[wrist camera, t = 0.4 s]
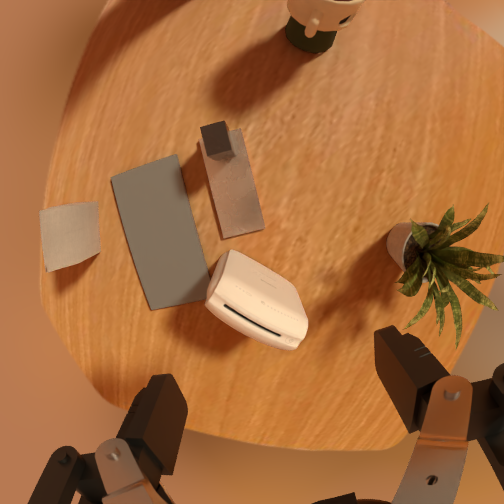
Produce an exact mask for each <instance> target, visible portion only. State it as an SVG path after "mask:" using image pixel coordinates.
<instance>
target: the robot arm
mask: <svg viewBox="0 0 504 504" xmlns="http://www.w3.org/2000/svg"><path fill="white" fill-rule="evenodd" d="M374 348H375V366H376V371H377V374H378V376H379V378H380V380H381V382H382V383H383V385H384V387H385V389H386V391H387V392H388V394H389V396H390V398H391V400H392V402H393V404H394V405H395V407H396V409H397V411H398V413H399V415H400V417H401V419H402V421H403V422H404V424H405V426H406V428H407V430H408V432H409V433H412V432H415V431H417V430H419V431H420V435H419V437H418V440H417V442H416V445H415V448H414V451H413V453H412V456H411V459H410V461H409V464H408V466H407V469H406V471H405V474H404V477H403V479H402V481H401V483H400V486H399V488H398V490H397V492H396V494H395V497H394V499H393V501H392V503H390V502H387V501H382V500H375V499H358V500H356V496H355V493H354V492H353V493H350V494H346V495H342V496H338V497H335V498H330V499H325V500H321V501H318V502H315V503H312V504H453V503H454V500H455V497H456V494H457V490H458V487H459V483H460V480H461V476H462V472H463V468H464V464H465V459H466V455H467V450H468V441H471V440H475V439H477V441H478V442H479V444H480V446H481V448H482V450H483V451H484V453H485V455H486V457H487V459H488V460H489V462H490V464H491V466H492V468H493V470H494V472H495V474H496V476H497V478H498V480H499V482H500V484H501V486H502V488H503V490H504V363H503V364H501V365H499V366H498V367H497V368H496V369H495V371H494V373H493V376H492V378H490V379H486V380H482V381H478V382H473V383H470V382H469V381H468V380H467V379H466V378H464V377H461V376H456V375H450V374H449V373H448V372H447V370H446V369H445V368H444V367H443V366H442V364H441V363H440V362H439V361H438V360H437V359H436V358H435V356H434V355H433V354H432V353H431V352H430V351H429V349H428V348H427V347H425V345H424V344H423V343H422V342H421V340H420V339H419V338H417V337H415V336H413V335H411V334H409V333H407V334H404V335H401V333H400V332H399V331H398V330H397V329H396V327H395V326H393V325H391V326H388V327H385V328H382V329H379V330H376V331H375V332H374ZM131 405H132V406H130V409H129V411H128V414H127V415H126V417H125V419H124V421H123V424H122V426H121V428H120V430H119V432H118V434H117V436H116V438H113V439H109V440H107V441H105V442H103V443H102V444H101V445H100V446H99V447H98V448H97V450H96V452H95V453H89V454H82V455H80V454H79V453H78V452H77V450H76V449H75V448H73V447H71V446H63V447H61V448H58V449H57V450H56V451H55V452H54V453H53V454H52V455H51V457H50V459H49V461H48V463H47V465H46V467H45V469H44V471H43V473H42V475H41V477H40V479H39V481H38V483H37V485H36V487H35V489H34V491H33V493H32V496H31V498H30V500H29V502H28V504H71V501H72V499H73V496H74V493H75V491H77V492H79V493H80V494H81V498H80V501H79V503H78V504H175V503H174V501H173V499H172V498H171V496H170V495H169V493H168V492H167V490H166V489H165V487H164V485H163V484H162V483H161V482H160V478H161V475H173V471H174V466H175V463H176V459H177V454H178V450H179V446H180V442H181V438H182V434H183V430H184V426H185V422H186V418H187V414H188V408H187V403H186V400H185V398H184V396H183V394H182V392H181V391H180V389H179V387H178V385H177V383H176V381H175V379H174V377H173V375H172V374H161V375H153V376H152V377H151V379H150V381H149V383H148V385H147V387H146V388H143V389H142V390H141V391H140V392H139V393H138V394H137V395H136V396H135V398H134V400H133V402H132V404H131Z"/></svg>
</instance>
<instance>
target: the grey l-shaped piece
mask: <svg viewBox="0 0 504 504" xmlns="http://www.w3.org/2000/svg"><path fill="white" fill-rule="evenodd" d="M200 129H201V133H202V137H203V138H202V139H199V143H200V147H201V151H202V155H203V159H204V163H205V167H206V171H207V175H208V179H209V183H210V187H211V191H212V195H213V199H214V203H215V207H216V211H217V214H218V218H219V222H220V226H221V230H222V234H223V237H224V238H227V237H231V236H235V235H240V234H244V233H248V232H252V231H256V230H261V229H265V224H264V220H263V216H262V212H261V208H260V203H259V199H258V195H257V191H256V187H255V183H254V179H253V175H252V171H251V167H250V162H249V158H248V154H247V150H246V146H245V142H244V138H243V135H242V131H241V128H240V129H236V130H232V131H230V130H229V128H228V126H227V124H226V122H225V121H221V122H217V123H213V124H210V125H206V126H203V127H200Z"/></svg>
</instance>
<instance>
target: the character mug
mask: <svg viewBox="0 0 504 504" xmlns="http://www.w3.org/2000/svg"><path fill="white" fill-rule="evenodd" d="M364 1H365V0H288V2H287V7H288V9H289V12H290V14H291V16H290V19H289V21H288V23H287V26H286V28H285V31H286V36H287V38H288V39H289V40H290V42H291V43H292V44H293V45H295V46H296V47H298V48H300V49H302V50H304V51H308V52H311V53H319V52H325V51H326V50H327V49H329V48H330V47H332V44H333V41H334V39H335V36H336V33H337V31H339V30H341V29H343V28H345V27H347V26H348V25H349V24H350V23H351V21H352V19H353V18H354V17H355V15H356V14H357V12H358V10H359V9H360V7H361V6H362V4H363V3H364Z"/></svg>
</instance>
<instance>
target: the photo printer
mask: <svg viewBox="0 0 504 504" xmlns="http://www.w3.org/2000/svg"><path fill="white" fill-rule="evenodd" d="M205 306H206V307H207V309H208V310H209V311H210V312H211V313H213V314H214V315H215V316H216V317H217V318H219V319H220V320H221V321H223V322H224V323H226V324H227V325H229V326H230V327H232V328H234V329H235V330H237V331H238V332H241V333H242V334H244V335H246V336H248V337H250V338H252V339H254V340H256V341H259V342H261V343H263V344H266V345H268V346H271V347H274V348H278V349H282V350H290V351H291V350H295V349H296V348H297V347H298V345H299V343H300V342H301V341H302V340H303V339H304V337H305V335H306V332H307V328H308V319H307V316H306V313H305V311H304V308H303V306H302V303H301V300H300V298H299V295H298V293H297V290H296V288H295V287H294V286H293V285H292V284H291V283H290V282H289V281H287V280H286V279H284V278H283V277H281V276H280V275H278V274H277V273H275V272H273V271H272V270H270V269H268V268H267V267H265V266H263V265H262V264H260V263H258V262H256V261H255V260H253V259H251V258H249V257H247V256H245V255H244V254H242V253H240V252H237V251H235V250H232V249H230V251H228V252H226V253H224V254H223V255H222V256H221V257H220V259H219V261H218V263H217V266H216V268H215V271H214V273H213V276H212V278H211V281H210V283H209V286H208V289H207V299H206V302H205Z"/></svg>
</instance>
